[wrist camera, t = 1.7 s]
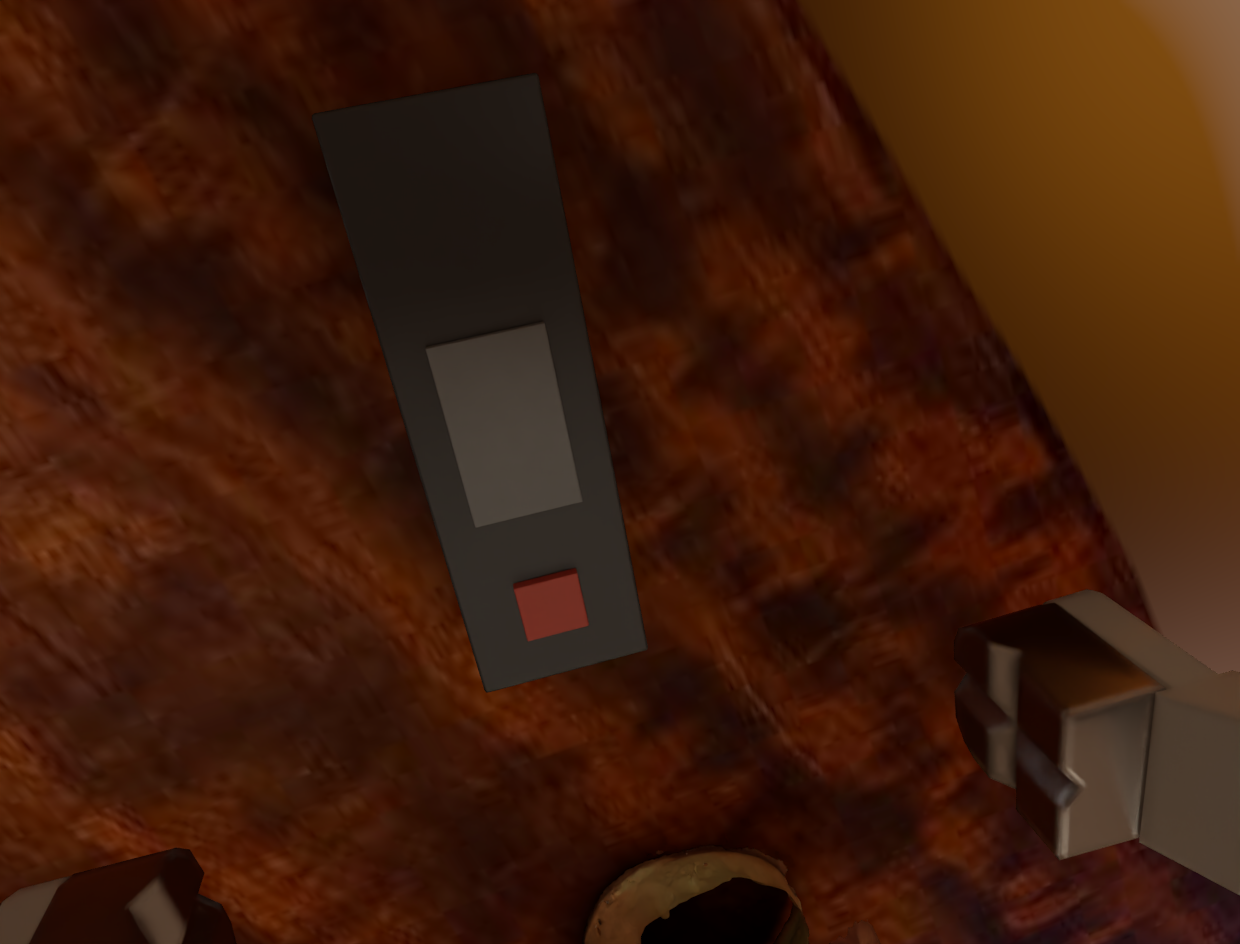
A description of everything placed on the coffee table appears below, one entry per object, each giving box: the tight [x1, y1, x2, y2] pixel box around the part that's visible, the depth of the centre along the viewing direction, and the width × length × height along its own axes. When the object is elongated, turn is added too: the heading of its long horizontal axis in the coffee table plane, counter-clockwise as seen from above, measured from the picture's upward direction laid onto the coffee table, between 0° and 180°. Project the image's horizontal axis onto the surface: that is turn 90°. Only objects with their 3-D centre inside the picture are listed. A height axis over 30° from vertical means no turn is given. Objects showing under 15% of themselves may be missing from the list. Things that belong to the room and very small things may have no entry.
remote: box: [312, 73, 648, 692], centre depth 20 cm, size 14×4×3 cm, turn 10°
